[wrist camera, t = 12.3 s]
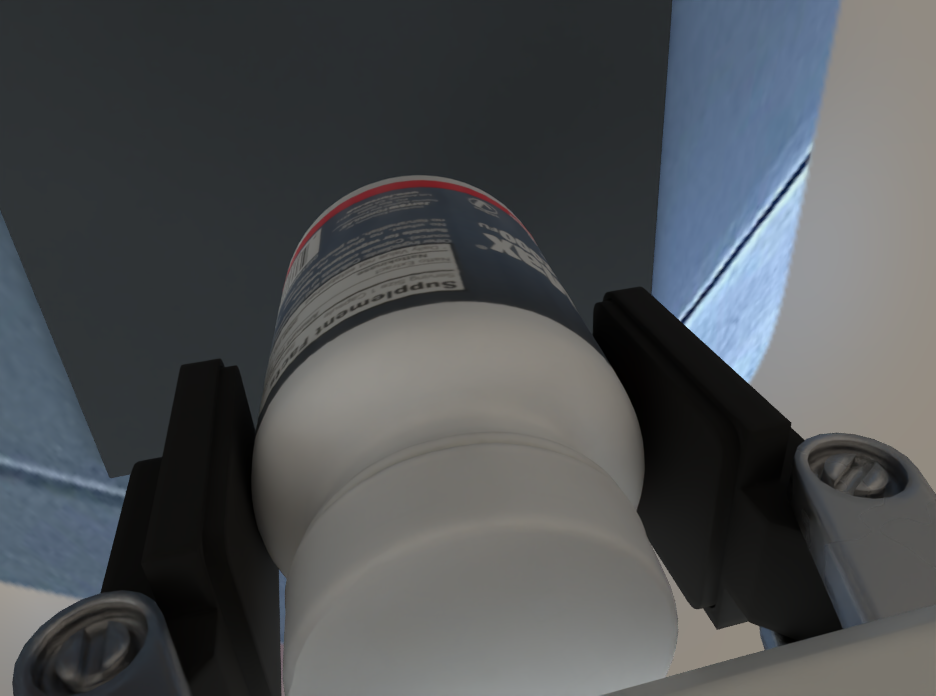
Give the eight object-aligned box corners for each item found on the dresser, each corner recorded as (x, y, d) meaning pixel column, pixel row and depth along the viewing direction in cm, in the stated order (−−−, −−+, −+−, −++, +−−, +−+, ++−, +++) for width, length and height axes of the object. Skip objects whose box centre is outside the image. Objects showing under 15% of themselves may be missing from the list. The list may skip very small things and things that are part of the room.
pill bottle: (577, 339, 16) (791, 714, 8) (367, 438, 16) (385, 878, 9) (478, 118, 13) (662, 368, 6) (231, 244, 14) (85, 636, 6)
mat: (112, 469, 20) (109, 479, 20) (-79, -4, 14) (-88, -3, 14) (640, 367, 23) (645, 374, 23) (669, -64, 17) (677, -64, 17)
